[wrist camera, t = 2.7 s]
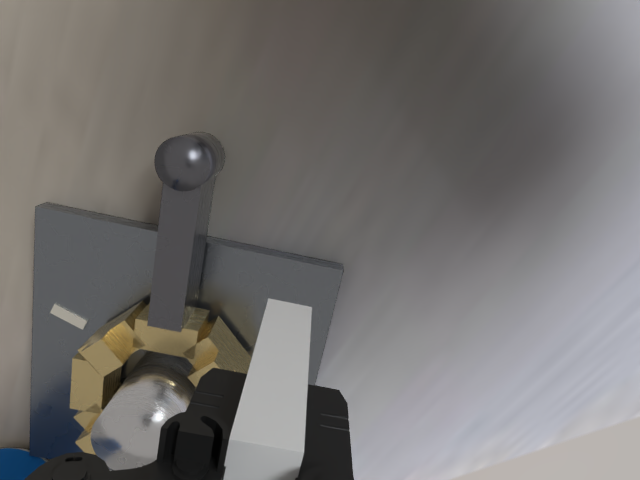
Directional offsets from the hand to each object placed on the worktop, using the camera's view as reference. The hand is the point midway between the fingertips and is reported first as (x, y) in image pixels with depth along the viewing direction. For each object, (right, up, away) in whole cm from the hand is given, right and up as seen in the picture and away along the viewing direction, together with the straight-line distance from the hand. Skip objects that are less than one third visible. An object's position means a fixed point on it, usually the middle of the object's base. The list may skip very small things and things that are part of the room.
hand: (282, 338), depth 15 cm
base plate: (-9, -6, +18) cm, 21 cm away
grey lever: (-8, -1, +14) cm, 16 cm away
